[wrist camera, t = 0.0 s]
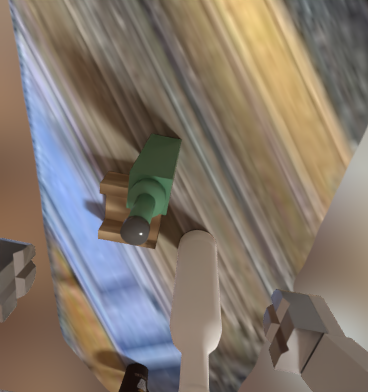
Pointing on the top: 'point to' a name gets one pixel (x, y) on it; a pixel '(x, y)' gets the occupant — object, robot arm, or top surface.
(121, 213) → the oak rest
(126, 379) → the coffee mug
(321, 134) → the top surface
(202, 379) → the bottle
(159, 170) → the green bottle
